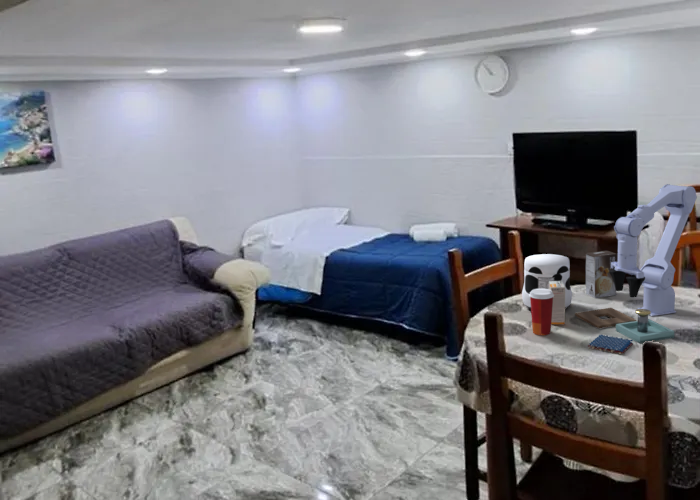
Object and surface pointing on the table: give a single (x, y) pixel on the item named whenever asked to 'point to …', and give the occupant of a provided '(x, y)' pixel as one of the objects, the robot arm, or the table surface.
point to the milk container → (545, 275)
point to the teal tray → (653, 333)
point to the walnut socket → (614, 319)
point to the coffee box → (600, 274)
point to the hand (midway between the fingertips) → (626, 293)
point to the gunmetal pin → (642, 320)
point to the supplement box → (558, 302)
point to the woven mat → (610, 344)
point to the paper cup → (541, 311)
